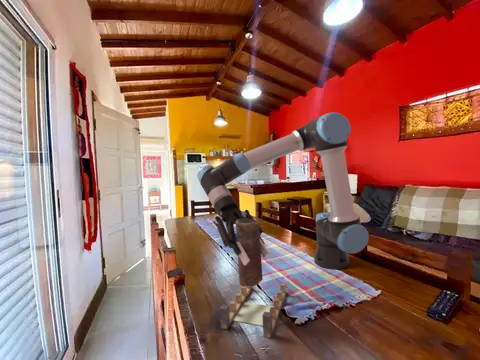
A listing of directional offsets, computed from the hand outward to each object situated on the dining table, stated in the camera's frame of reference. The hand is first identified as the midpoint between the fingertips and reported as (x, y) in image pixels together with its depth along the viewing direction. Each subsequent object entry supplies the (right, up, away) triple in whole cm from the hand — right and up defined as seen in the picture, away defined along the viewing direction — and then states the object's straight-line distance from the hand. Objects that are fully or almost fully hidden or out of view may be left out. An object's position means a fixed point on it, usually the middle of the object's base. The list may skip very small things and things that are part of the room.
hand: (257, 259), depth 73 cm
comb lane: (+1, -18, +7) cm, 20 cm away
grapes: (-4, -16, +59) cm, 61 cm away
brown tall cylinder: (-2, -9, +3) cm, 9 cm away
